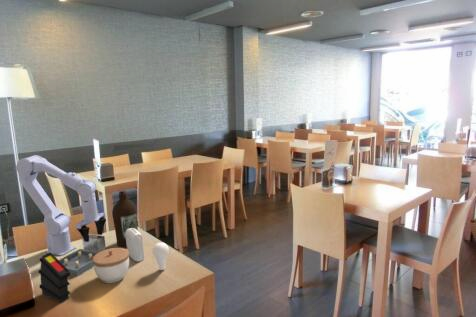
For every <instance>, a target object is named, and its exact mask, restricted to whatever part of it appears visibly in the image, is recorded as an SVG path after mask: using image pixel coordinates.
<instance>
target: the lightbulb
mask: <svg viewBox="0 0 476 317" xmlns="http://www.w3.org/2000/svg"><path fill="white" fill-rule="evenodd" d="M169 252H170V249H169V246H168V244H166V243H165V242H157V243H156V244H155V245H154V246H153V247H152V255H153V257H154V258H155V260H156V262H157V266H158V270H160V271H163V270H165V269H166V263H167V257H168V255H169Z"/></svg>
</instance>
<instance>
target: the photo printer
mask: <svg viewBox="0 0 476 317" xmlns="http://www.w3.org/2000/svg"><path fill="white" fill-rule="evenodd" d="M125 235H126V244H127V247H126V249H127V250H128V251H129V258H131V259H132V260H133V261H134V262H142V261H143V260H144V259H145V251H144V242H143V236H142V234H141V232H140V231H139V230H138V231H137V230H136V229H134V228H130V229H127V230H126V232H125Z"/></svg>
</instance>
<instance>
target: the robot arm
mask: <svg viewBox="0 0 476 317" xmlns="http://www.w3.org/2000/svg"><path fill="white" fill-rule="evenodd" d="M15 170H16V172H17V173H18V179H19V182H20V183H21V184H20V185H22V187H23V188H24V190H25V191H26V193H28V195H29V196H30V198H31V199H32V201H33V202H34V203H35V205H36V206H37V208H38V209H39V211H40V212H41V213H42V214H43V216H44V219H43V224H44V226H45V229H46V231H47V234H46V235H45V236H46V237H45V239H46V246H47V250H46V251H45V253H46V254H48V253H52V254H53V255H57V256H63V255H66V254H68V253H69V252H72V251H73V250H76V248H77V247H76V246H75V245H72V242H71V236H70V229H69V226H70V224H71V218H70V216H68V214H66V213H65V212H64V211H63V210H61V209H58V208H57V207H56V206H55V204H54V202H53V201H52V200H51V198H50V197H49V195H48V194H47V193H46V191H45V190H44V189H43V187H42V185H41V184H40V183H39V182H38V179H37V177H38V174H39V173H42V172H43V173H46V174H49V175H50V176H53V177H55V178H57V179H59V180H61V182H62V184H63V185H64V186H67V187H68V188H70V189H72V190H73V191H76V192H77V194H78V195H79V196H80V200H81V202H80V203H81V208H82V215H83V216H82V218H83V219H81V220H80V221H79V222H77V223H75V229H76V231H78V232H79V233H80V235H81V238H82V237H83V239H84V242H89V234H90V227H89V226H87V225H90V224H92V223H94V224H95V228H96V233H97V235H99V236H103V235H104V234H103V233H104V228H105V224H106V222H107V218H106V213H105V212H100V213H98V206H97V200H96V199H97V198H96V193H95V192H96V190H97V184H96V183H95V182H94V181H93V180H90V179H88V180H87V179H86V178H82V177H81V176H79V175H77V173H76V172H66V171H64V170H63V169H60V168H59V167H57V166H56V165H54V164H53V163H51V162H49V161H48V160H47V159H46V158H45V157H42V156H40V155H39V154H33V155H31V156H29V157H25V158H20V159H18V161H17V162H16V165H15Z"/></svg>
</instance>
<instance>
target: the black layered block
mask: <svg viewBox="0 0 476 317" xmlns="http://www.w3.org/2000/svg"><path fill="white" fill-rule="evenodd" d="M59 260H60V259H58V258H57V257H56V256H55V254H52V253H45V254H44V255H41V257H40V258H39V261H40V269H39V270H38V274H39V275H40V284H39V289H41V293H42V295H44V296H46V297H48V298H49V299H52V300H54V301H57V302H59V303H62V302H65V300H67V299H69V298H70V297H69V295H70V294H71V291H69V287H68V286H70V284H71V283H70V282H69V281H68V280H69V277H70V276H72V275H71V274H70V273H69V270H68V269H67V268H66V267H65V266H64V265H63V264H62V263H61V262H60V261H59Z"/></svg>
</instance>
